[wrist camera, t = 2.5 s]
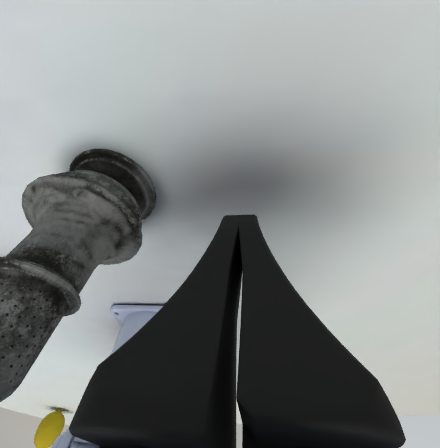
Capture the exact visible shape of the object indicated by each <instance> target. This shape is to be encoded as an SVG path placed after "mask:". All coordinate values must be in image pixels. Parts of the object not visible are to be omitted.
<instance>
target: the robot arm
mask: <svg viewBox="0 0 440 448" xmlns="http://www.w3.org/2000/svg"><path fill="white" fill-rule="evenodd" d="M242 272H243V279H242V306H241V328H240V348H239V365H238V382H237V397H236V346H237V317H238V307H239V298H240V288H241V278H242ZM110 311H111V312H112V314H113V315H114V316H115V317H116V319H117V320H118V321H119V322H120V324H121V325H122V328H121V330H120V332H119V335H118V337H117V340H116V342H115V345H114V347H113V350H112V352H111V354H110V356H109V357H108V358H107V359H105V360H104V361H103V362H102V363H101V364H99V365H98V367H97V369H96V371H95V373H94V374H93V376H92V378H91V380H90V382H89V384H88V386H87V388H86V390H85V392H84V394H83V397H82V399H81V401H80V404H79V406H78V408H77V411H76V413H75V415H74V417H73V420H72V422H71V424H70V427H69V428H68V429H67V430H66V432H63V433H62V434H60V435H59V436H58V437H57V438H56V440H55V441H54V443H53V445H52V447H51V448H236V398H237V403H238V407H239V411H240V415H241V419H242V423H243V443H242V447H243V448H399V447H401V446H402V445H403V444H404V443H405V440H406V439H405V436H404V433H403V430H402V427H401V424H400V422H399V420H398V417H397V415H396V413H395V411H394V409H393V407H392V405H391V403H390V401H389V399H388V397H387V395H386V394H385V392H384V390H383V388H382V387H381V385H380V383H379V381H378V380H377V379H376V378H375V377H374V376H373V375H372V374H371V373H370V372H369V371H368V370H367V369H366V368H365V367H364V366H363V365H362V364H361V363H360V362H359V361H358V360H357V359H356V358H355V357H354V356H353V355H352V354H351V353H350V352H349V351H348V350H347V349H346V348H345V347H344V346H343V345H342V344H341V343H340V342H339V341H338V339H337V338H336V337H335V336H334V335H333V334H332V333H331V332H330V331H329V330H328V329H327V328H326V326H325V325H324V324H323V323H322V322H321V321H320V319H319V318H318V317H317V316H316V315H315V314H314V312H313V311H312V310H311V309H310V308H309V307H308V305H307V304H306V303H305V302H304V300H303V299H302V298H301V297H300V295H299V294H298V293H297V291H296V290H295V289H294V287H293V286H292V284H291V283H290V282H289V280H288V279H287V277H286V276H285V274H284V273H283V271H282V270H281V268H280V266H279V265H278V263H277V262H276V260H275V258H274V256H273V255H272V253H271V251H270V249H269V247H268V245H267V243H266V241H265V239H264V237H263V234H262V232H261V230H260V227H259V224H258V220H257V216H255V215H229V216H224V217H223V219H222V221H221V224H220V226H219V228H218V230H217V232H216V234H215V236H214V238H213V240H212V241H211V243H210V245H209V247H208V248H207V250H206V252H205V253H204V255H203V256H202V258H201V259H200V261H199V262H198V264H197V265H196V267H195V268H194V270H193V271H192V272H191V274H190V275H189V276H188V278H187V279H186V280H185V282H184V283H183V284H182V285H181V287H180V288H179V289H178V290H177V291H176V292H175V294H174V295H173V296H172V297H171V298H170V299H169V300H168V302H167V303H166V304H165V305H164V306H145V305H113V306H111V308H110Z"/></svg>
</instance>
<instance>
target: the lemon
mask: <svg viewBox="0 0 440 448" xmlns="http://www.w3.org/2000/svg"><path fill="white" fill-rule="evenodd" d="M64 423H65V418H64V415H63V414H62V413H61V410H60V409H58V410H56V411H55V412H52V413H50V414H48V415H47V416H46V417H45V418H44V419H43V420H42V422H41V423H40V425H39V426H38V429H37V431H36V434H35V438H34V443H35V446H36V447H37V448H48V447H50V446H51V445H53V443H54V441H55V440H56V438H57V437H58V436H59V435H60V434H61V432H62V430H63V427H64Z"/></svg>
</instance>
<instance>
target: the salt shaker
mask: <svg viewBox="0 0 440 448" xmlns="http://www.w3.org/2000/svg"><path fill="white" fill-rule="evenodd" d="M155 201H156V194H155V189H154V186H153V184H152V182H151V180H150V178H149V177H148V175H147V174H146V173H145V172H144V170H143V169H142V168H141V167H140V166H138V165H137V164H136V163H135V162H134V161H132V160H131V159H129V158H127V157H125V156H124V155H122V154H120V153H117V152H113V151H110V150H105V149H93V150H88V151H84V152H83V153H81V154H80V155H78V156H77V157H75V159H74V160H73V162H72V163H71V165H70V170H69V172H64V173H60V174H52V175H47V176H43V177H39V178H37V179H36V180H34V181H33V182H31V183H30V184H28V185H27V187H26V189H25V191H24V193H23V194H22V207H23V210H24V213H25V216H26V219H27V220H28V222H29V223H30V225H31V226H32V228H33V229H32V231H31V232H30V234H29V235H28V236H27V237H26V238H24V239H23V240H22V241H21V242H20V243H19V244H18V245H17V246H16V247H15V248H14V249H13V250H12V251H11V252H10V253H9V254H8V255H7V256H6V257H5V258H4V259H0V402H1V401H3V400H4V399H6V398H7V397H9V396H10V395H11V394H12V393H13V392H14V391H15V390H16V389H17V388H18V386H19V385H20V384H21V382H22V381H23V379H24V378H25V376H26V374H27V373H28V371H29V370H30V368H31V367H32V365H33V363H34V362H35V360H36V359H37V357H38V355H39V354H40V352H41V351H42V349H43V347H44V346H45V344H46V343H47V341H48V339H49V338H50V336H51V335H52V333H53V331H54V330H55V328H56V327H57V325H58V323H59V322H60V320H61V319H62V317H63V316H68V315H71V314H74V313H75V312H77V311H78V310H79V308H80V306H81V300H80V296H79V293H80V292H81V290H82V289H83V287H84V285H85V284H86V282H87V281H88V279H89V277H90V276H91V274H92V272H93V271H94V269H95V268H96V267H97V266H98V265H99V264H103V265H110V264H119V263H122V262H125V261H127V260H130V259H131V258H132V257H133V256H135V255H136V254H137V252H138V250H139V249H140V247H141V245H142V232H141V226H142V221H141V220H143V219H145V218H146V217H147V216H149V215H150V214H151V212H152V210H153V208H154V206H155Z"/></svg>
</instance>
